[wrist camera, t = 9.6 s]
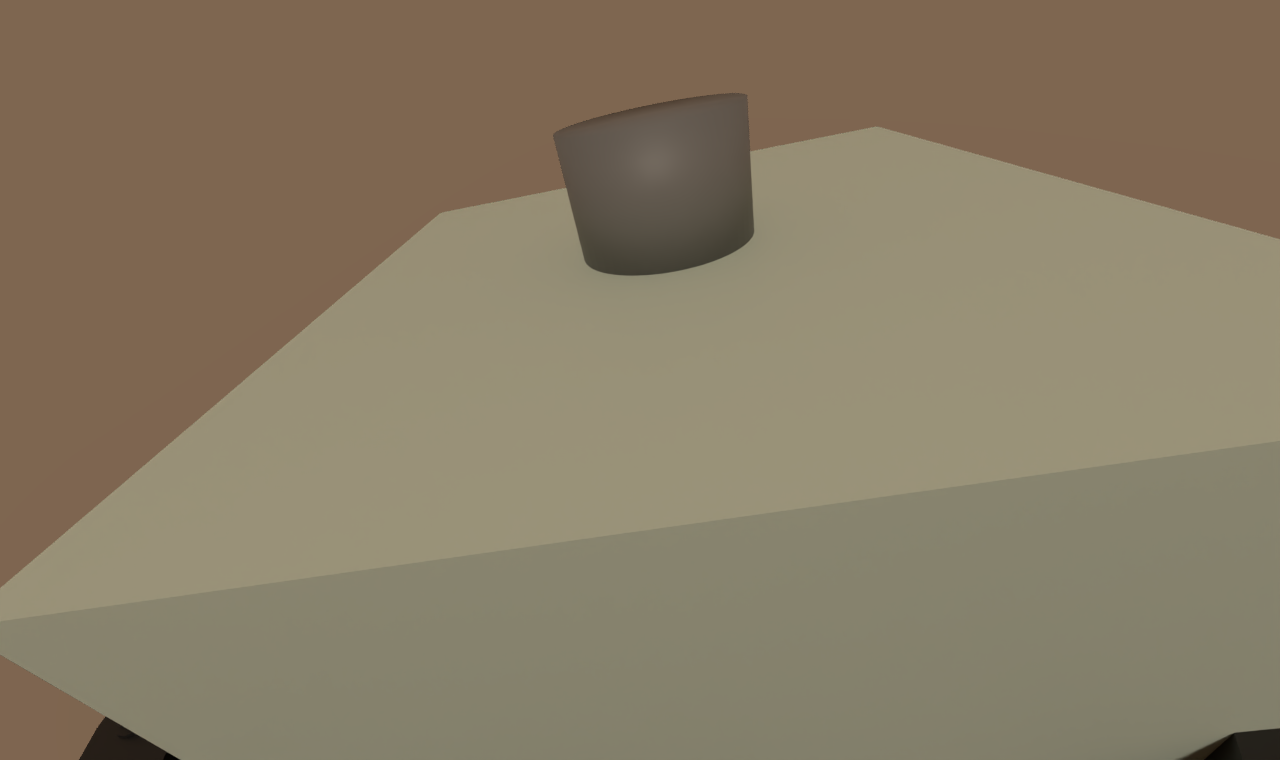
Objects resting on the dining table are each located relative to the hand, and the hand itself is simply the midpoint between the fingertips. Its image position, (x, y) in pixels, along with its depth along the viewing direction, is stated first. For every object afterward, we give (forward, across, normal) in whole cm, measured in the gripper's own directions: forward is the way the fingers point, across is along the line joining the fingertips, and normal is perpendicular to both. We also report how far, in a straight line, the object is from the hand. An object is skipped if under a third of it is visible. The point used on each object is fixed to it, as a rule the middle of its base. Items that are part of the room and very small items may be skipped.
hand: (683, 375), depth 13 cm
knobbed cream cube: (-4, 0, -6) cm, 7 cm away
